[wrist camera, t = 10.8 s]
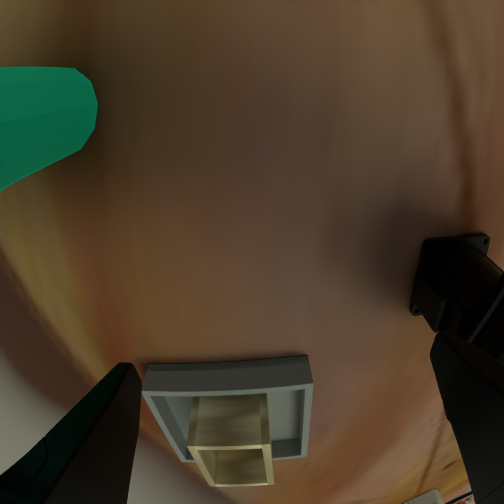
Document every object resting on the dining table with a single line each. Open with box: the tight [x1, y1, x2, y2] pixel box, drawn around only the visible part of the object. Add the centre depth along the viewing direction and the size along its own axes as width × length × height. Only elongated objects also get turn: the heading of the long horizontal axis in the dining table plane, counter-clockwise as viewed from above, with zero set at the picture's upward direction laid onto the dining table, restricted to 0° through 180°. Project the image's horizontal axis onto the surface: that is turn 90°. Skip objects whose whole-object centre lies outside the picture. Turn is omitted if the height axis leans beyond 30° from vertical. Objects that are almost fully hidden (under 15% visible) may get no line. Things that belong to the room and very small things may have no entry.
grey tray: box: [142, 355, 313, 462], centre depth 27 cm, size 13×13×3 cm
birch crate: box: [187, 393, 274, 486], centre depth 25 cm, size 6×9×6 cm, turn 5°
